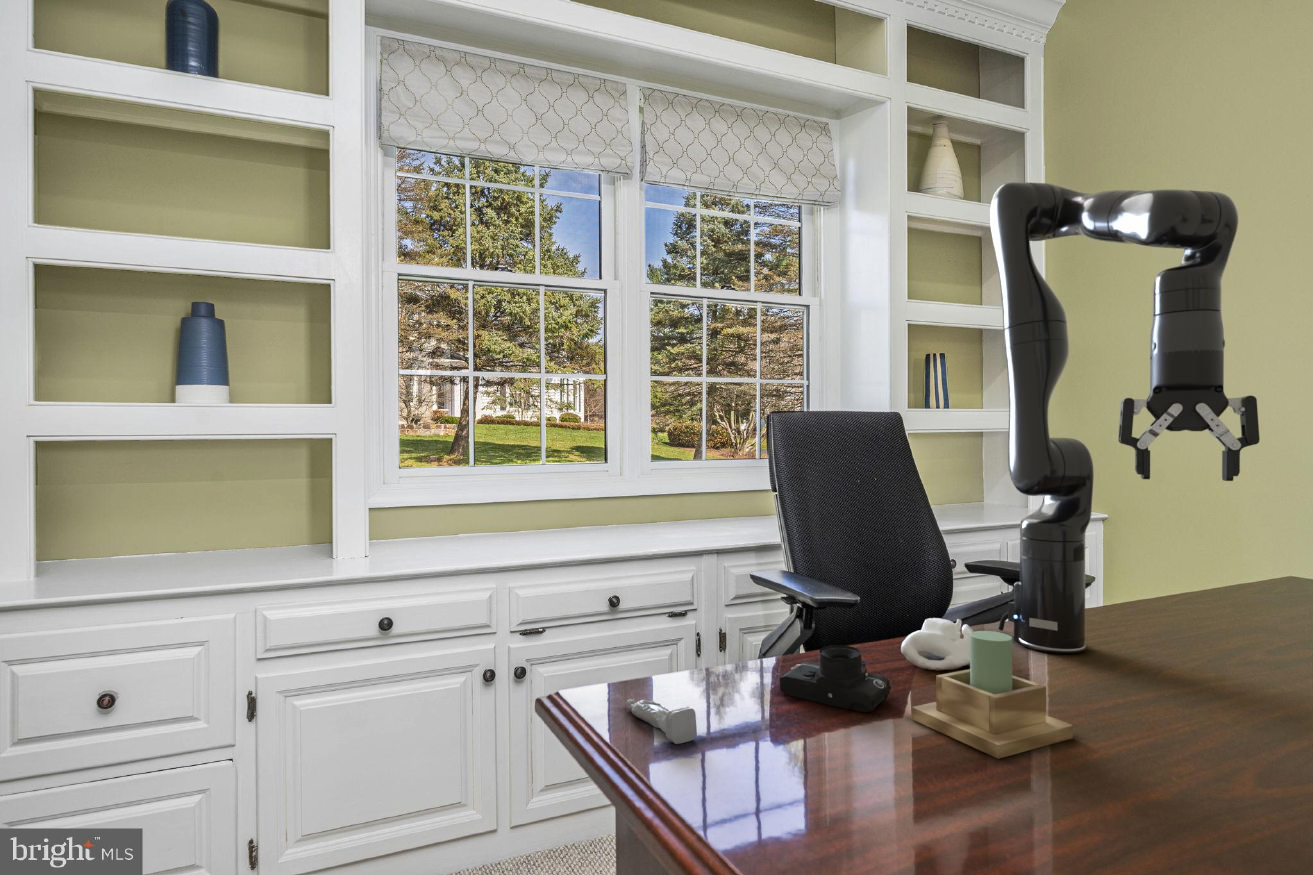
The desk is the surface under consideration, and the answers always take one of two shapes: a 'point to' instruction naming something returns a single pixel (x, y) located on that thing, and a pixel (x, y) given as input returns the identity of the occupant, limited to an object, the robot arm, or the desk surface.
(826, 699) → the film camera
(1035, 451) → the robot arm
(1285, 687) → the desk surface
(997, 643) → the green tall cylinder
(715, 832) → the desk surface
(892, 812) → the desk surface
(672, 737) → the figurine
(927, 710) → the display stand
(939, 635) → the white looped sculpture
